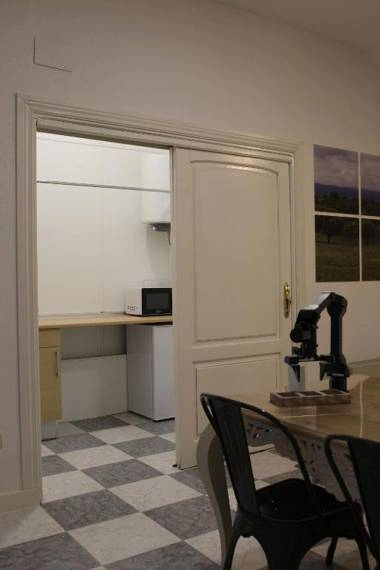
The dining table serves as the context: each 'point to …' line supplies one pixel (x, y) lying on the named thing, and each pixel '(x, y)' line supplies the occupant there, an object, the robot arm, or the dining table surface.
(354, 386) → the dining table surface
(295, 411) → the dining table surface
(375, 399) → the dining table surface
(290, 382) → the skincare box
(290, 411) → the dining table surface
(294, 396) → the rail
